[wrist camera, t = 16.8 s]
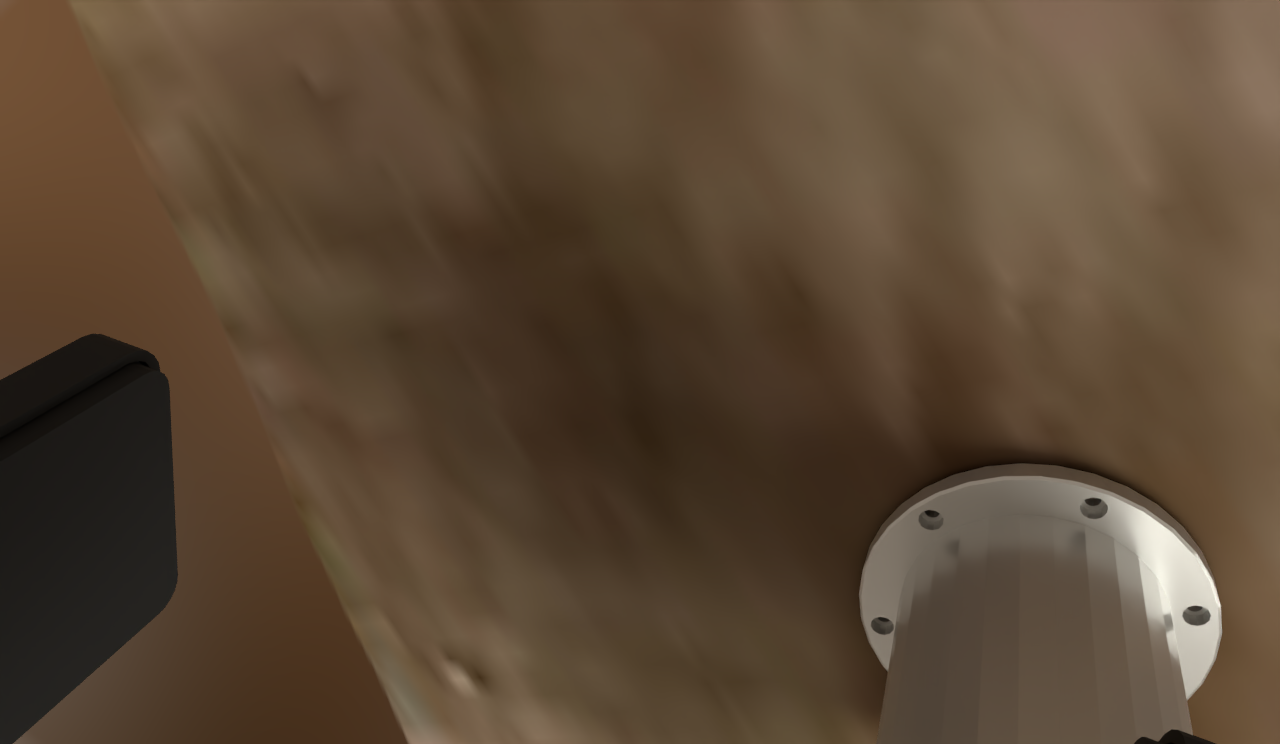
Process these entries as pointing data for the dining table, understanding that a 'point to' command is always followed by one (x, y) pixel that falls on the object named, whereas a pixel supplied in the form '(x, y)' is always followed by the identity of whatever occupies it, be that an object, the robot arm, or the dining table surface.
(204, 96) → the dining table surface
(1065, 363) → the dining table surface
